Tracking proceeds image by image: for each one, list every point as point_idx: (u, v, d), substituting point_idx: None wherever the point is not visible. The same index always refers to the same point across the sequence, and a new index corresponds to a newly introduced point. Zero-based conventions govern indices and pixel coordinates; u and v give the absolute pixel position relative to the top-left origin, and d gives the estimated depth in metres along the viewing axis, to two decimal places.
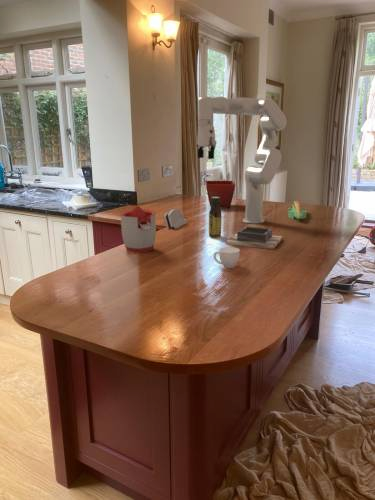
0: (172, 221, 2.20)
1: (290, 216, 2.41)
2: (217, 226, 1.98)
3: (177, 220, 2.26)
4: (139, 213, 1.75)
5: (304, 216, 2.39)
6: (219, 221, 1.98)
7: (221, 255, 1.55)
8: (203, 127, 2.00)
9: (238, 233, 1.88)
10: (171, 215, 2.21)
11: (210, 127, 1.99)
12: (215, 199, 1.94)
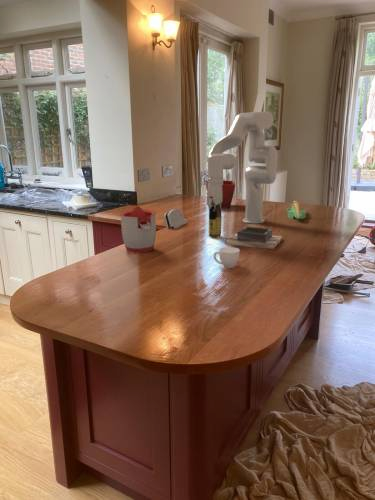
0: (172, 221, 2.21)
1: (289, 216, 2.42)
2: (217, 226, 1.98)
3: (177, 220, 2.26)
4: (139, 213, 1.75)
5: (303, 216, 2.40)
6: (219, 221, 1.98)
7: (221, 255, 1.55)
8: (221, 185, 1.95)
9: (238, 233, 1.88)
10: (171, 215, 2.21)
11: None
12: None
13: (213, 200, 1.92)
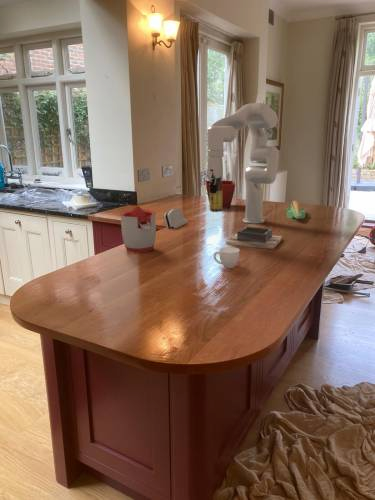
0: (172, 221, 2.21)
1: (289, 216, 2.42)
2: (218, 200, 1.95)
3: (177, 220, 2.26)
4: (139, 213, 1.75)
5: (303, 216, 2.40)
6: (220, 195, 1.94)
7: (221, 255, 1.55)
8: (221, 158, 1.92)
9: (238, 233, 1.88)
10: (171, 215, 2.22)
11: None
12: None
13: (213, 173, 1.89)
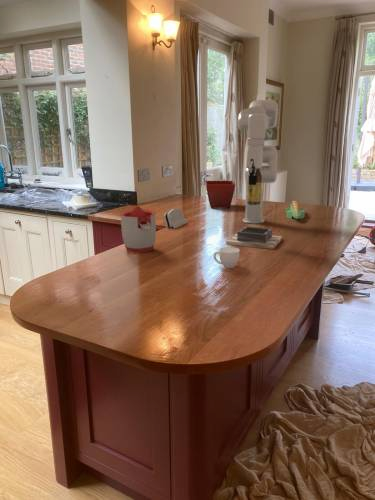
0: (171, 221, 2.21)
1: (288, 216, 2.42)
2: (257, 192, 1.83)
3: (177, 220, 2.27)
4: (139, 213, 1.75)
5: (302, 216, 2.40)
6: (259, 187, 1.83)
7: (221, 255, 1.55)
8: (262, 147, 1.80)
9: (238, 233, 1.88)
10: (170, 215, 2.22)
11: None
12: None
13: (254, 163, 1.77)
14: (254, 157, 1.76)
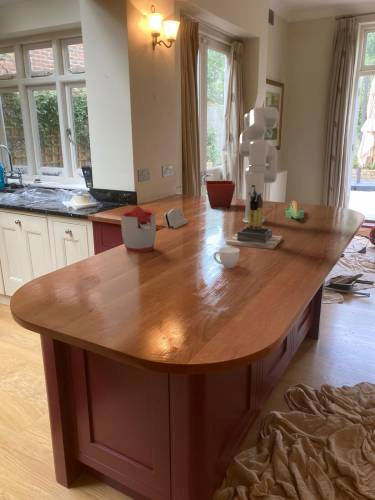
0: (171, 220, 2.22)
1: (287, 216, 2.42)
2: (259, 217, 1.86)
3: (177, 220, 2.27)
4: (139, 213, 1.75)
5: (301, 216, 2.40)
6: (260, 212, 1.85)
7: (221, 255, 1.55)
8: (263, 173, 1.83)
9: (238, 233, 1.88)
10: (171, 214, 2.22)
11: None
12: None
13: (255, 189, 1.80)
14: (255, 183, 1.79)
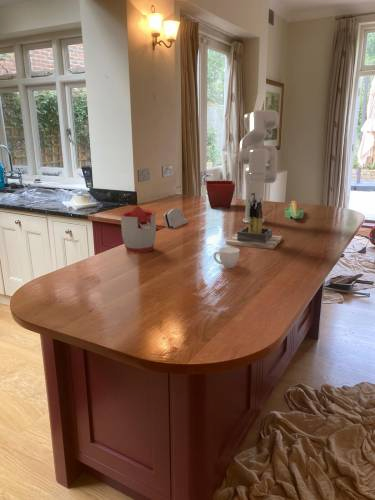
0: (171, 220, 2.22)
1: (287, 216, 2.42)
2: (258, 227, 1.87)
3: (177, 219, 2.27)
4: (139, 213, 1.75)
5: (301, 216, 2.40)
6: (260, 222, 1.87)
7: (221, 255, 1.55)
8: (262, 181, 1.84)
9: (238, 233, 1.88)
10: (170, 214, 2.23)
11: None
12: None
13: (255, 197, 1.81)
14: (255, 191, 1.80)
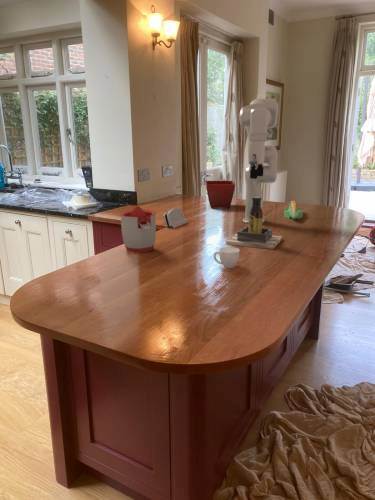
0: (171, 220, 2.22)
1: (286, 216, 2.43)
2: (258, 227, 1.87)
3: (177, 219, 2.27)
4: (139, 213, 1.75)
5: (300, 216, 2.41)
6: (260, 222, 1.87)
7: (221, 255, 1.55)
8: (264, 142, 1.80)
9: (238, 233, 1.88)
10: (170, 214, 2.23)
11: None
12: (257, 199, 1.84)
13: (256, 158, 1.76)
14: (256, 152, 1.76)
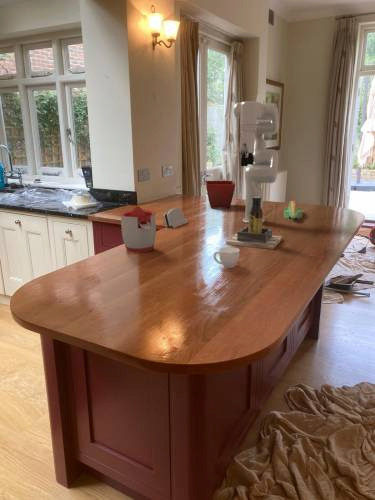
0: (171, 220, 2.23)
1: (285, 215, 2.43)
2: (258, 227, 1.87)
3: (177, 219, 2.28)
4: (139, 213, 1.75)
5: (299, 216, 2.41)
6: (260, 222, 1.87)
7: (221, 255, 1.55)
8: (254, 133, 1.94)
9: (238, 233, 1.88)
10: (170, 214, 2.23)
11: None
12: (257, 199, 1.84)
13: (246, 147, 1.91)
14: (246, 142, 1.90)
